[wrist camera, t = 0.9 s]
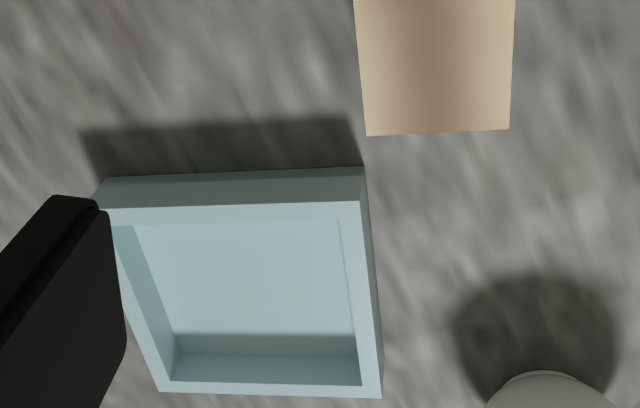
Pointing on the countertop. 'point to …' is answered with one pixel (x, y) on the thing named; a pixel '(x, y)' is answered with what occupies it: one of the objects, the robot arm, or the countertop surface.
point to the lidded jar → (547, 392)
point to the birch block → (435, 64)
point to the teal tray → (250, 280)
